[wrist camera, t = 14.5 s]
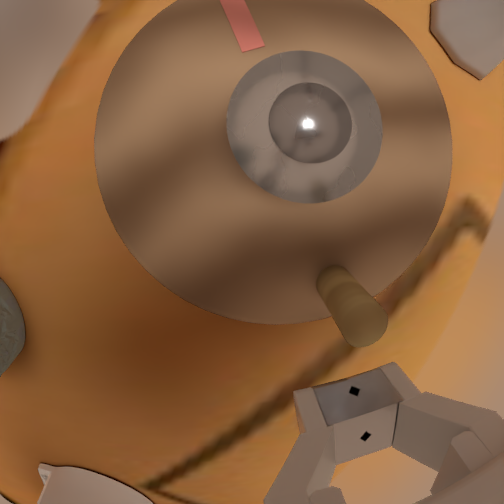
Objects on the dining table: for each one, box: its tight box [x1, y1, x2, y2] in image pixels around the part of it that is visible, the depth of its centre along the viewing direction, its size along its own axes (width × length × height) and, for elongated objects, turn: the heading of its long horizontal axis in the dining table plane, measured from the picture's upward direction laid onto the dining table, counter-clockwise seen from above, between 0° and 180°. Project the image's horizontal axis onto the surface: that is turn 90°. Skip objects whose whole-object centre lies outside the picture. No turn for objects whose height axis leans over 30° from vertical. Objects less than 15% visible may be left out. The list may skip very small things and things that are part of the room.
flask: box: [430, 0, 504, 80], centre depth 10 cm, size 7×7×10 cm
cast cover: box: [226, 50, 383, 203], centre depth 12 cm, size 6×6×4 cm
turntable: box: [94, 0, 452, 347], centre depth 13 cm, size 20×20×7 cm
